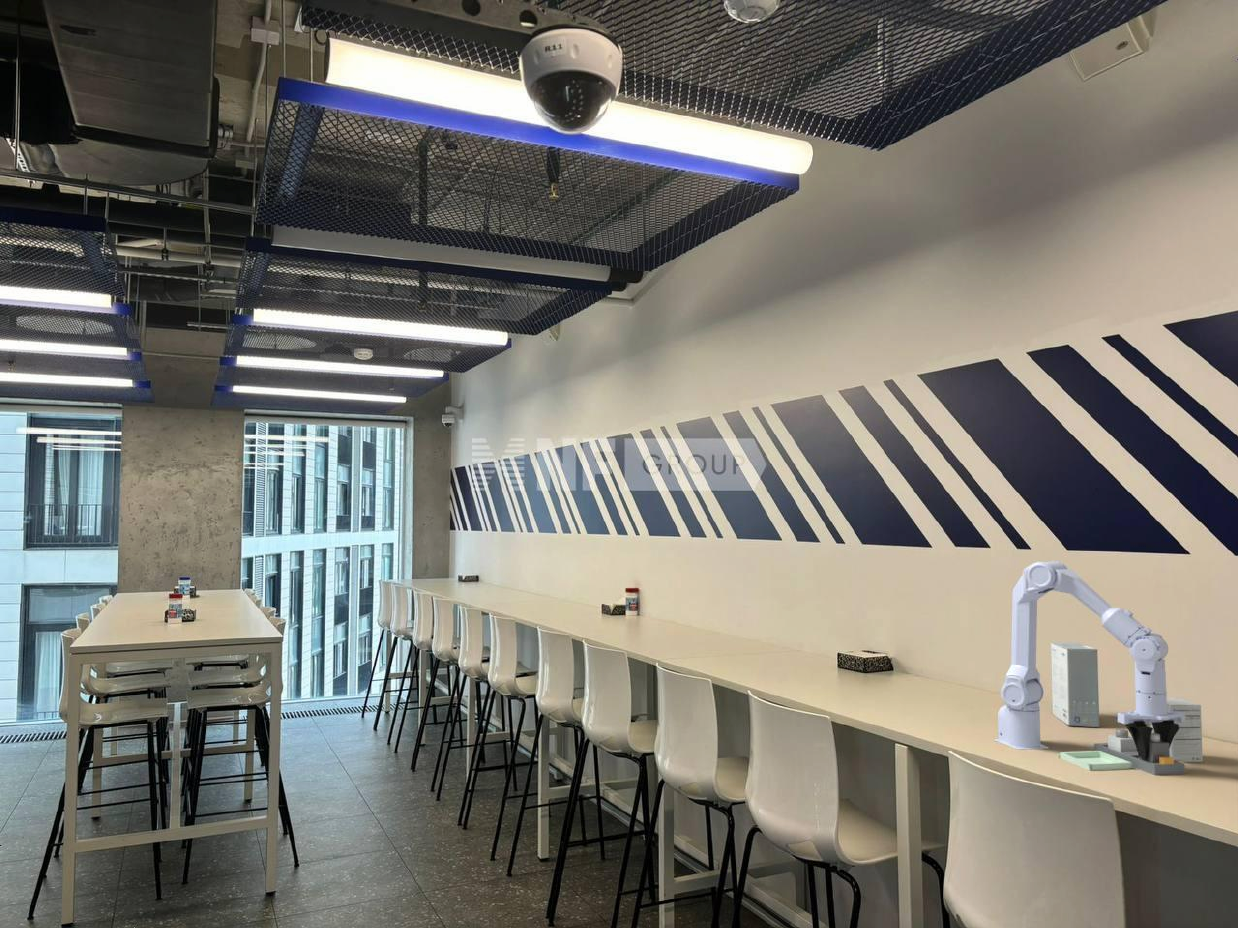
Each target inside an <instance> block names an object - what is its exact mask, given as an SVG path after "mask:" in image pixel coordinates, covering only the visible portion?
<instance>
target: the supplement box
mask: <svg viewBox="0 0 1238 928" xmlns="http://www.w3.org/2000/svg"><path fill="white" fill-rule="evenodd" d="M1167 711H1179V712H1183V713H1185V722H1174V723H1175V724H1178V725H1179V730H1178V732H1177V733H1176V735H1175V736H1174V738H1173V740H1172V743H1171V746H1170V749H1169V752H1170V757H1172V758H1174V760H1175V761H1178V762H1181V763H1203V762H1204V761H1203V759H1204V756H1203V728H1202V725H1203V724H1202V704H1199V703H1195V702H1192V701H1189V700H1185V699H1182V698H1179V697H1167ZM1149 727H1151V728H1153V726H1152V723H1149ZM1152 733H1154V729H1152Z"/></svg>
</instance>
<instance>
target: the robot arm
mask: <svg viewBox="0 0 1238 928" xmlns="http://www.w3.org/2000/svg"><path fill="white" fill-rule="evenodd" d="M1051 591H1053V592H1059V593H1066V594H1069V595H1071V596H1073V597H1074V598H1075V599H1077V600H1078V601H1079V602H1081V604H1083V605H1084V606H1085V607H1086V608H1088V609H1089V610H1091V612H1093V613H1094V614H1096V615H1097V616H1098V617H1099V618H1100V619H1101V620H1100V621H1101V625H1102V627H1103V628H1104V629H1105V630H1106V631H1107V632H1109V633H1110V635H1112V636H1113V637H1114V638H1115V639H1116V640H1118V642H1120V643H1121V644H1122V645H1123V646H1125V648H1127V649H1128V650H1129V654H1130V656H1131V657H1132V659H1133V660H1134V694H1135V695H1134V697H1135V710H1132V711H1126V712H1117V723H1120V724H1122V725H1124V726H1125V728H1127V729H1126V730H1128V733H1130V735H1131V736H1130V737H1132V738H1133V740H1134V742H1135V745H1136V748H1137V752H1138V755H1139V757H1142V758H1144V759H1148V757H1149V742H1150V736H1151V732H1152V729H1154V733H1158V734H1160V740H1161V741H1164V742H1167V743H1169V749H1170V746H1171V743H1172V740H1173V738H1174V736H1175V735H1176V733H1177V732H1178V730H1179V725H1178V724H1175V723H1174V722H1185V713H1183V712H1179V711H1167V698H1168V697H1167V696H1168V695H1167V676H1166V675H1167V673H1166V660H1165V659H1164V658H1166V657H1167V655H1168V653H1169V646H1168V643H1167V641H1166V640H1165V639H1164V638H1163V637H1162V635H1160V634H1159V633H1151V632H1152V629H1151V628H1150V627H1145V626H1144V625H1143V624H1142V623H1140V622H1139V621H1138V620H1137V619H1135V617H1134V616H1133V615H1134V613H1133V612H1132V611H1130V610H1129V609H1126V610H1125V609H1124V608H1121V607H1113V606H1111V604H1109V603H1108V602H1107V601H1106V600H1105V599H1104V598H1103V597H1102V596H1101V595H1100V594H1099V593H1098V592H1096V591H1095V590H1094V588H1092V587H1091V586H1089V584H1088V583H1086V582H1085V580H1083V579H1082V578H1081V576H1079V574H1078V573H1076V572H1075V571H1074V570H1072V569H1071V568H1068V567H1067V565H1066V564H1065V563H1064V562H1061V561H1059V560H1058V561H1057V560H1052V561H1051V560H1050V561H1036V562H1034V563H1031V564H1030V565H1029V566H1027V567H1026V568H1024V569H1023V572H1022V575H1021V577H1020V578H1019V580H1018V581H1017V583H1016V584H1015V586H1014V587H1013V590H1012V602H1011V603H1012V604H1011V605H1012V606H1011V607H1012V608H1011V609H1012V610H1011V613H1012V614H1011V644H1010V645H1011V648H1010V649H1011V650H1010V651H1011V653H1010V657H1011V658H1010V662H1011V663H1010V667H1009V668H1008V671H1007V672H1006V674H1005V680H1004V683H1003V685H1002V687H1001V688H1000V689H1001V690H1000V696H1001V700H1002V701H1003V702H1004V705H1003V706H1001V707H1000V709H999V710H998V713H997V726H998V729H997V730H998V738H995V739H994V741H995V742H997V743H1001V744H1003V745H1007V746H1009V747H1010V748H1012V749H1013V748H1014V749H1016V750H1019V751H1020V750H1042V749H1043V750H1045V749H1047V750H1048V749H1050V748H1049V747H1048V746H1046V745H1044V744H1042V743H1041V713H1040V710H1041V709H1040V705H1039V704H1040V703H1039V702H1040V701H1041V700H1042V699H1043V697H1044V687H1043V685H1042V683H1041V679H1040V678H1041V677H1040V676H1041V674H1040V673H1039V671H1038V669H1037V667H1036V664H1037V663H1036V662H1037V624H1038V623H1037V619H1038V600H1039V599H1041V598H1042V597H1044V596H1045V595H1046V594H1048V593H1049V592H1051ZM1148 723H1149V724H1150V723H1152V726H1153V728H1151V727H1150V726H1148Z"/></svg>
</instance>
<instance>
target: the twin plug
mask: <svg viewBox="0 0 1238 928" xmlns="http://www.w3.org/2000/svg"><path fill="white" fill-rule="evenodd" d="M1107 743H1108V748H1110V749H1113V750H1116V751H1119V752H1133V751H1137V748H1136V745H1135V742H1134V740H1133V738H1132V736H1129V730H1128V729H1125V728H1116V729H1115V734H1108V735H1107Z"/></svg>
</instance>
